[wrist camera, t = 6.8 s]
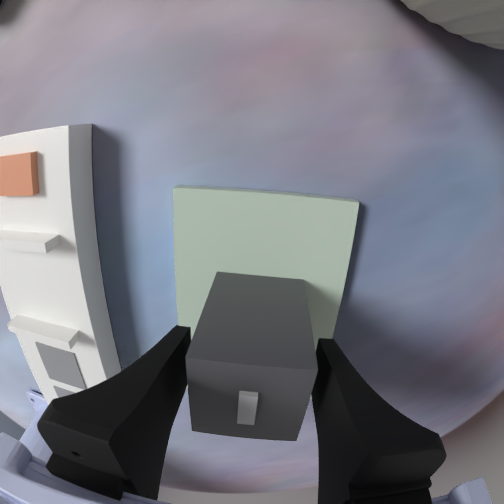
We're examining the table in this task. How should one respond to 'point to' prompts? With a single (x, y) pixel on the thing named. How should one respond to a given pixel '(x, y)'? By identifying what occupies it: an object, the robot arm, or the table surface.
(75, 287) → the power strip
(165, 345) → the robot arm
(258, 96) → the table surface
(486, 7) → the canister
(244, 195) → the mat
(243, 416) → the block
